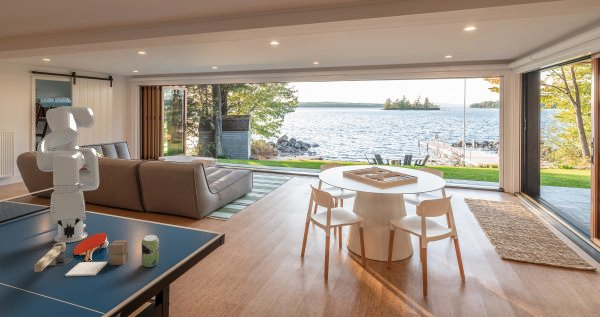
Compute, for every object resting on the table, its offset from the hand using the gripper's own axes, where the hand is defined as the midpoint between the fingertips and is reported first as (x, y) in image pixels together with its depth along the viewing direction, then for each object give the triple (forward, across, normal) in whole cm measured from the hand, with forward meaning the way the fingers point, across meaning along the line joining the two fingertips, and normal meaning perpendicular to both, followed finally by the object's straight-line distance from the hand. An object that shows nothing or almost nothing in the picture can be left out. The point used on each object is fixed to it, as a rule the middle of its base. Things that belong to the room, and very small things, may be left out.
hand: (69, 236), depth 120 cm
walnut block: (+13, -16, 0) cm, 21 cm away
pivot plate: (+13, +4, -10) cm, 17 cm away
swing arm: (+13, +6, -2) cm, 14 cm away
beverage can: (+13, -26, +9) cm, 30 cm away
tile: (+13, -5, +2) cm, 14 cm away
